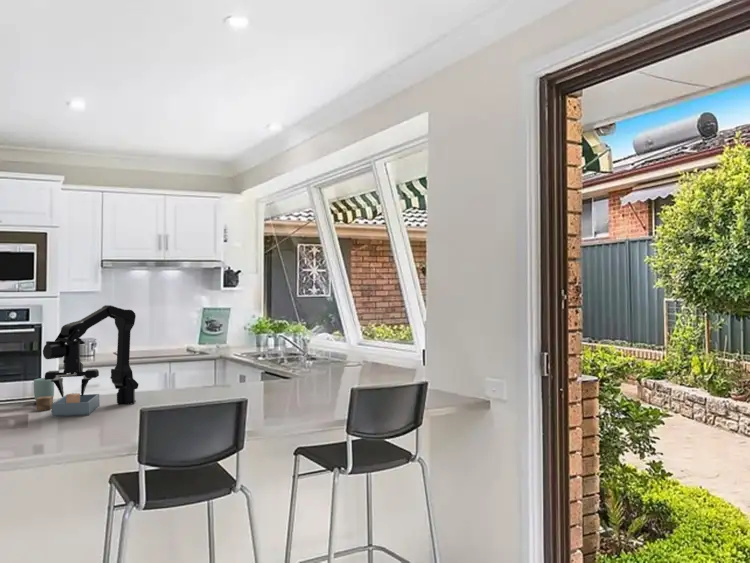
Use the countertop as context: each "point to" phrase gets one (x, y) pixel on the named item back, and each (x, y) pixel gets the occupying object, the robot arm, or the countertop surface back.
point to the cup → (43, 388)
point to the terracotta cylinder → (73, 398)
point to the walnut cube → (44, 403)
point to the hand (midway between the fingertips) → (72, 396)
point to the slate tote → (76, 406)
